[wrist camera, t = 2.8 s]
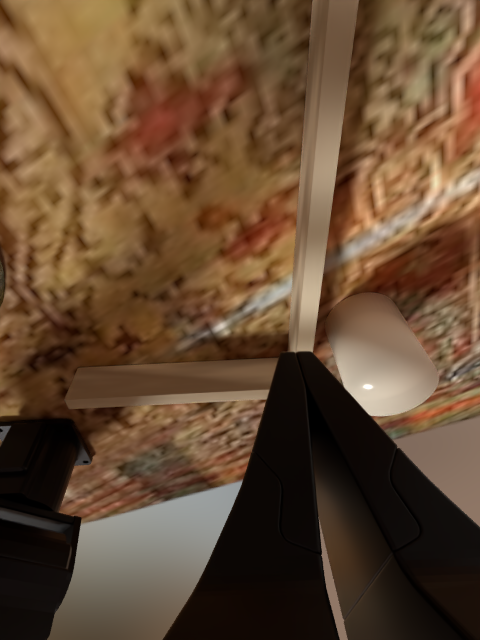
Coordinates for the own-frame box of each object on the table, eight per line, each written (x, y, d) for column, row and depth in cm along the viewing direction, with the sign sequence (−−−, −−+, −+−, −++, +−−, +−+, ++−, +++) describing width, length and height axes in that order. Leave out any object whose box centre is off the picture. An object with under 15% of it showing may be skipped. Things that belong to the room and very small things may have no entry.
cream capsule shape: (388, 346, 27) (424, 413, 22) (321, 350, 27) (342, 418, 22) (405, 290, 23) (451, 355, 19) (329, 294, 23) (356, 359, 19)
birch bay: (299, 365, 27) (306, 396, 25) (82, 376, 27) (68, 409, 25) (349, -121, 12) (379, -157, 10) (-133, -104, 12) (-218, -137, 10)
